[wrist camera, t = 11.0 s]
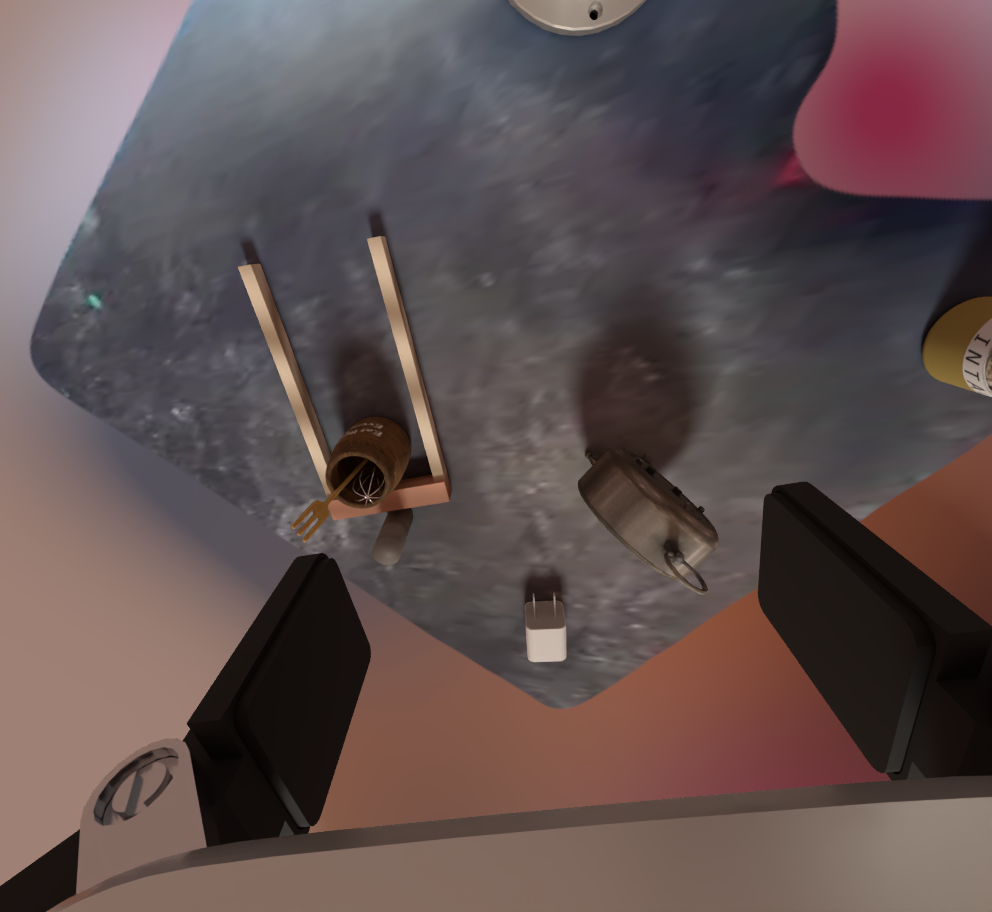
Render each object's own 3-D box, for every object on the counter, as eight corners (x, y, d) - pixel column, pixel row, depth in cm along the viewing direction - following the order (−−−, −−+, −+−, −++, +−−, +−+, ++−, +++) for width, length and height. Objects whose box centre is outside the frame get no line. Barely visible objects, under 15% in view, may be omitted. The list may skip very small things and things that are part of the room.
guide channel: (247, 266, 36) (201, 269, 30) (385, 236, 35) (363, 234, 29) (350, 534, 46) (329, 574, 40) (458, 517, 45) (452, 555, 39)
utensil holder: (425, 457, 42) (398, 530, 31) (368, 486, 44) (323, 566, 33) (389, 402, 40) (346, 460, 29) (330, 434, 41) (269, 501, 30)
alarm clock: (565, 458, 42) (598, 573, 27) (606, 414, 40) (666, 510, 26) (650, 522, 45) (722, 658, 30) (692, 483, 43) (791, 608, 28)
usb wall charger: (526, 632, 51) (527, 662, 47) (523, 582, 48) (524, 609, 44) (562, 631, 51) (567, 660, 47) (561, 580, 48) (566, 607, 44)
